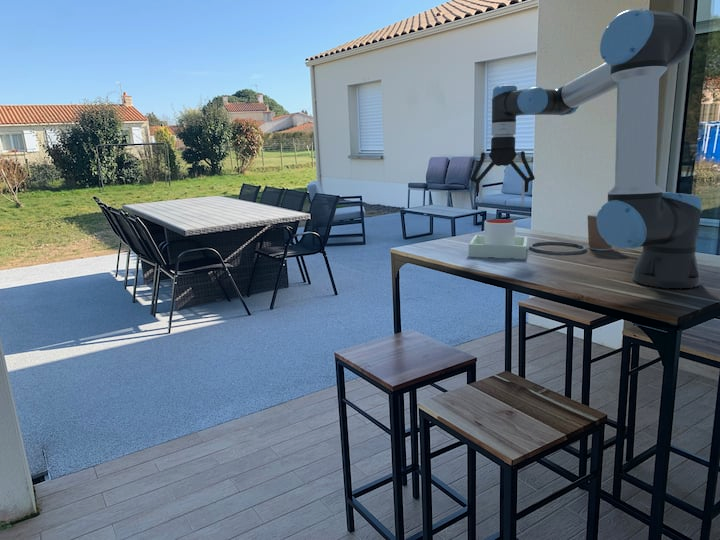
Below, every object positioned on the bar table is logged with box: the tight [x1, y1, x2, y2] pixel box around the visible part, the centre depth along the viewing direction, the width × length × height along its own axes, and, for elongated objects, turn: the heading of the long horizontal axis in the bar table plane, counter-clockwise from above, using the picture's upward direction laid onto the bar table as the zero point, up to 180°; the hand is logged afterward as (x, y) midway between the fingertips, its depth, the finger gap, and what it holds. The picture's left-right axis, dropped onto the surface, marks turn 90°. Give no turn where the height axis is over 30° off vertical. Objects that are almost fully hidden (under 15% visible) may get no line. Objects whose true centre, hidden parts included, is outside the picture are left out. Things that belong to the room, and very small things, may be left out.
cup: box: [483, 218, 516, 245], centre depth 173 cm, size 10×10×10 cm
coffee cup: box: [586, 211, 613, 251], centre depth 175 cm, size 10×10×12 cm
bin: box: [468, 234, 528, 260], centre depth 173 cm, size 18×18×4 cm
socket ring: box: [528, 240, 588, 256], centre depth 177 cm, size 18×18×1 cm
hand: (501, 202), depth 170 cm, fingers open, 13 cm apart
